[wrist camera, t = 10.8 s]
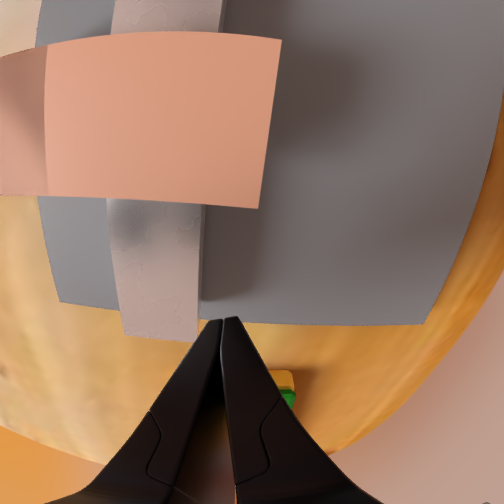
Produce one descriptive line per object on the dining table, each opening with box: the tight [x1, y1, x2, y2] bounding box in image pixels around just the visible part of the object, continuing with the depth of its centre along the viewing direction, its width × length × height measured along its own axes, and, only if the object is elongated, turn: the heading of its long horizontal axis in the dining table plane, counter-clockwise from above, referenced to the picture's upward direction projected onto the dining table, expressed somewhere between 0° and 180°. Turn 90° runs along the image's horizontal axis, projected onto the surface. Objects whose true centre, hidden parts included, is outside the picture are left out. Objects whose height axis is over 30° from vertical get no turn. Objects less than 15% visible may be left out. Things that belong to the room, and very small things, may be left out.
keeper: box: [0, 31, 282, 209], centre depth 8 cm, size 4×8×4 cm, turn 83°
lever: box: [106, 0, 227, 342], centre depth 8 cm, size 18×5×3 cm, turn 173°
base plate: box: [35, 0, 504, 326], centre depth 10 cm, size 21×20×1 cm
